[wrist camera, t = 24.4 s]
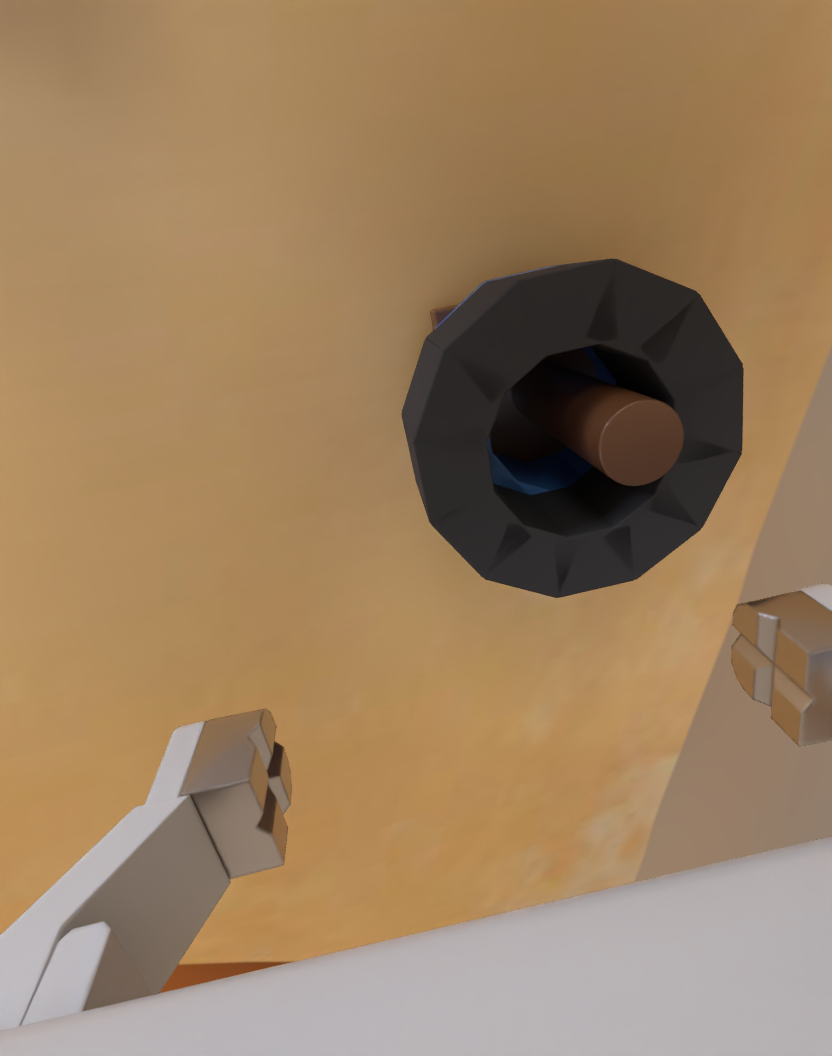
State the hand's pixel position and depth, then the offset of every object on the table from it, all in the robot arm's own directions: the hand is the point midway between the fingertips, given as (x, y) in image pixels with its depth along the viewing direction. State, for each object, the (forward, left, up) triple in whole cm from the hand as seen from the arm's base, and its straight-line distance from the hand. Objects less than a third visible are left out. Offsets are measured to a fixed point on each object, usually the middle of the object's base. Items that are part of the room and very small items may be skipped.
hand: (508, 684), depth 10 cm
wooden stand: (-1, +7, -22) cm, 23 cm away
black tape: (0, +5, -15) cm, 16 cm away
